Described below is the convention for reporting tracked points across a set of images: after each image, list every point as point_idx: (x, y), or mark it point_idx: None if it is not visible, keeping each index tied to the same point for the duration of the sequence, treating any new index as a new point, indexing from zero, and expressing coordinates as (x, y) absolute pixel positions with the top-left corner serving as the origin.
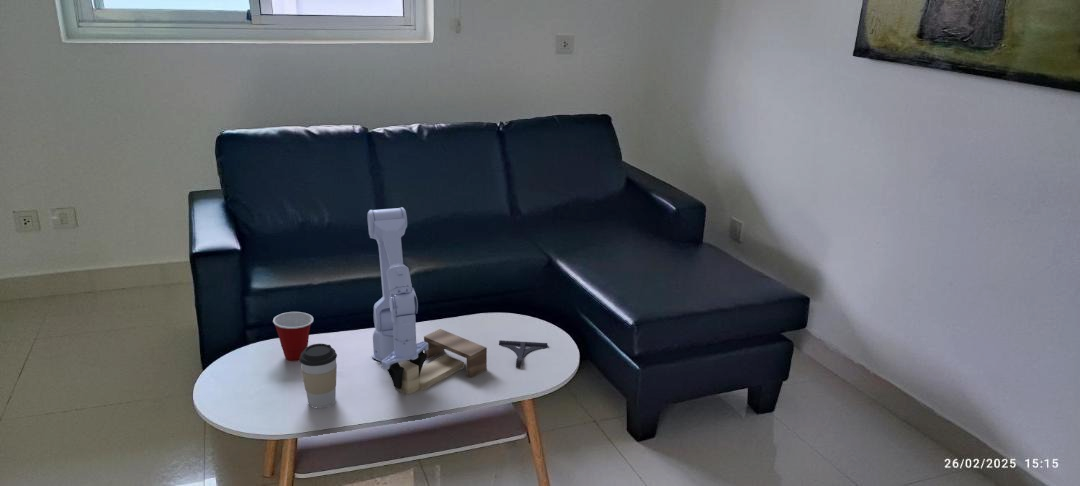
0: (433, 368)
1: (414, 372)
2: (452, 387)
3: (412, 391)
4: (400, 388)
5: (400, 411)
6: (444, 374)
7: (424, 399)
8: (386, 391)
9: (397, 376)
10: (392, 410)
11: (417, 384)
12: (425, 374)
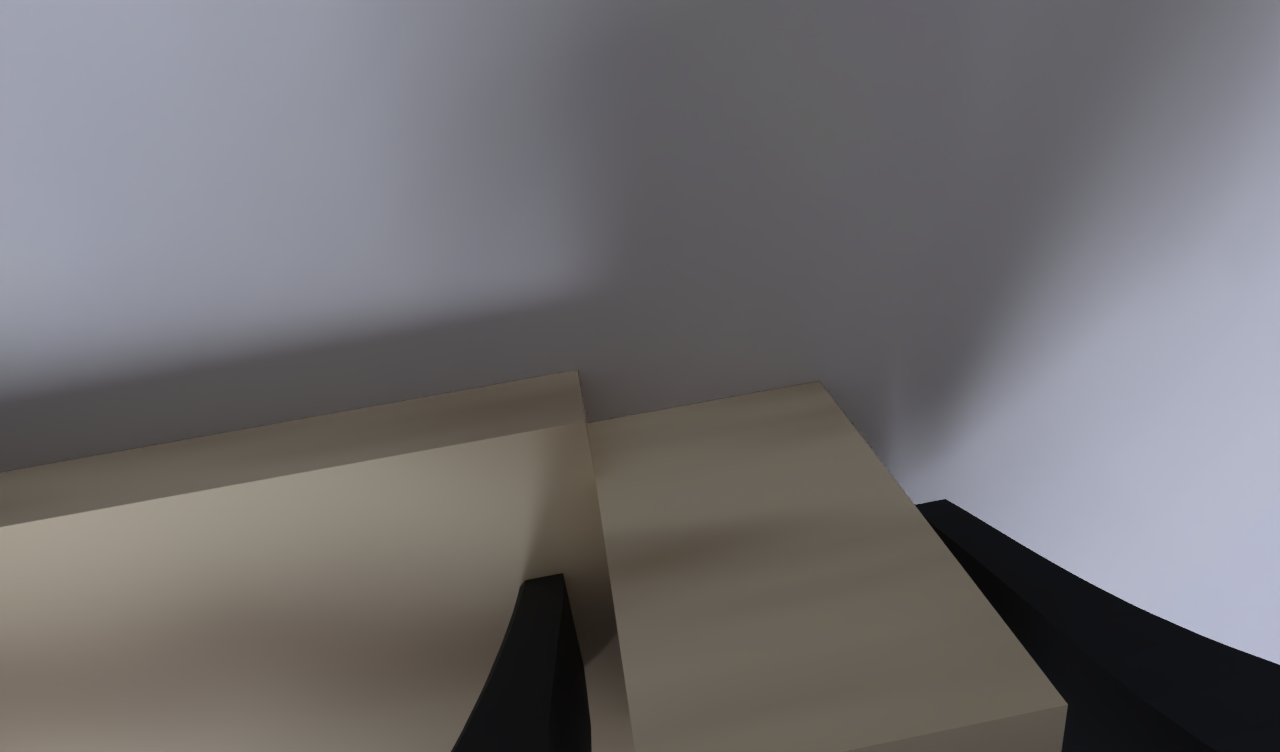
0: (120, 722)
1: (763, 648)
2: (34, 101)
3: (730, 408)
4: (929, 505)
5: (1226, 48)
6: (1, 504)
7: (720, 97)
8: None
9: (1255, 660)
10: (1261, 162)
11: (633, 468)
12: (344, 641)
